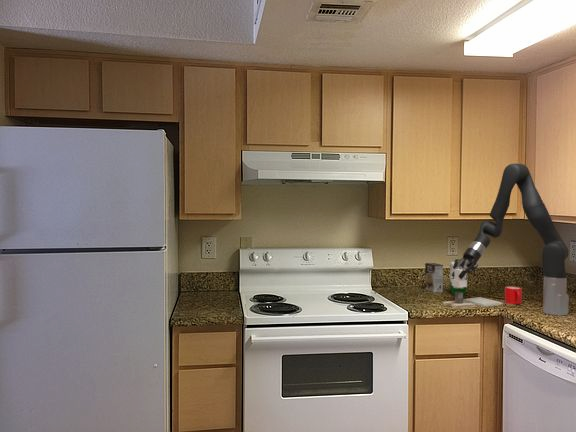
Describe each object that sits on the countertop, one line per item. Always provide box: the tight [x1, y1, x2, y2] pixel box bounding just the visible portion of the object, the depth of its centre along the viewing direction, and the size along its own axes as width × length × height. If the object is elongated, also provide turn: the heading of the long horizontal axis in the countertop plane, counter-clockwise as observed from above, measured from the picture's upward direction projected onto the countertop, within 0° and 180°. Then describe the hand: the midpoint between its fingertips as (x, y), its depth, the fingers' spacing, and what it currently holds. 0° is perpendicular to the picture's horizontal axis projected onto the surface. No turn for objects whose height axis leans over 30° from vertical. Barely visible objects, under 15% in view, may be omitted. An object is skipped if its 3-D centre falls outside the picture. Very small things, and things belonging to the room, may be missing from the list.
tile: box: [463, 296, 503, 307], centre depth 225 cm, size 14×12×1 cm
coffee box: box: [424, 262, 444, 293], centre depth 257 cm, size 9×6×16 cm
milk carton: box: [449, 258, 468, 296], centre depth 247 cm, size 9×9×20 cm
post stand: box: [442, 292, 477, 310], centre depth 219 cm, size 11×11×7 cm
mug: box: [504, 285, 523, 305], centre depth 223 cm, size 8×12×8 cm, turn 177°
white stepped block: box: [452, 269, 468, 288], centre depth 219 cm, size 5×5×8 cm
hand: (456, 277), depth 218 cm, fingers closed on white stepped block, 4 cm apart
